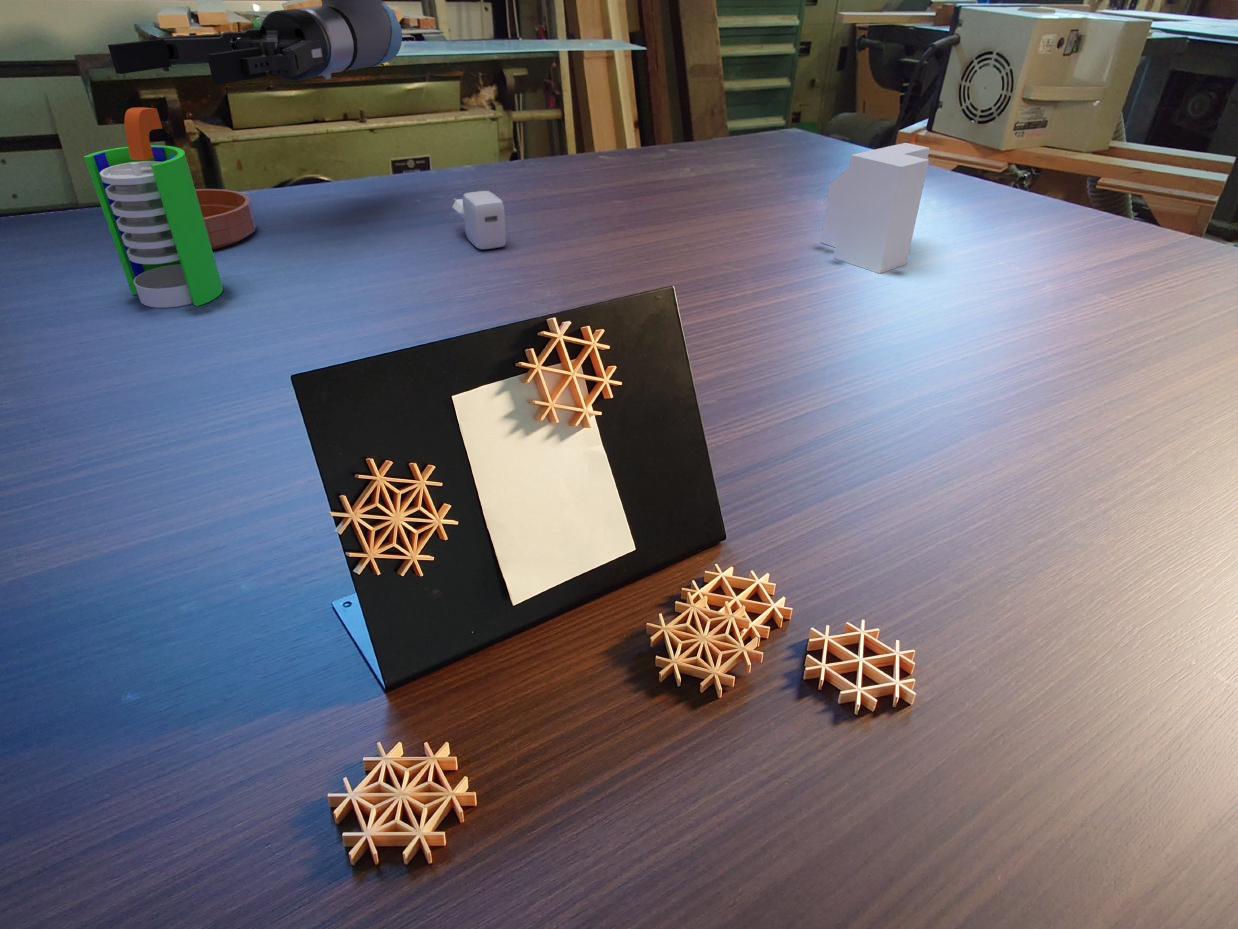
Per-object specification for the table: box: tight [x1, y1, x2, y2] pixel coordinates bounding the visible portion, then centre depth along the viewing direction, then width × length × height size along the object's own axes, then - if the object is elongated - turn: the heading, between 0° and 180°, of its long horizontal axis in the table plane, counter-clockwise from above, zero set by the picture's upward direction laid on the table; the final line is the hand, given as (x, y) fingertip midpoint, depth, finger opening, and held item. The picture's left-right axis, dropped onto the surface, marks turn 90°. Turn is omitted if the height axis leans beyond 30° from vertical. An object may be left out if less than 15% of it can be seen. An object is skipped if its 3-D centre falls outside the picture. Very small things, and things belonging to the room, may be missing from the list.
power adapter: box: [452, 190, 507, 250], centre depth 101 cm, size 11×5×6 cm, turn 26°
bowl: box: [195, 188, 258, 250], centre depth 100 cm, size 14×14×4 cm
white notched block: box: [820, 142, 931, 274], centre depth 97 cm, size 11×11×12 cm
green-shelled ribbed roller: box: [83, 107, 224, 309], centre depth 81 cm, size 9×8×18 cm
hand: (161, 64), depth 83 cm, fingers open, 13 cm apart
